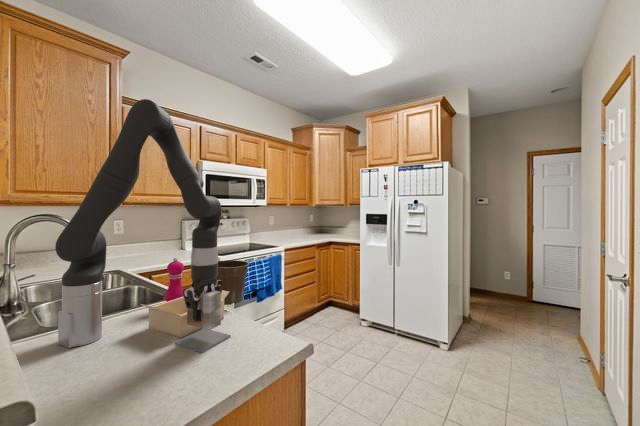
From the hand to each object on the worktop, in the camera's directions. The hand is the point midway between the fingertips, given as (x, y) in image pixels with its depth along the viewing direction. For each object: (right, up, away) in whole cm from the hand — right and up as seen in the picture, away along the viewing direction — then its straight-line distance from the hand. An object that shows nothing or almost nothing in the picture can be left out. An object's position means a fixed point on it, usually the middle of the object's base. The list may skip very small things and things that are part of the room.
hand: (204, 318), depth 87 cm
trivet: (0, -7, 0) cm, 7 cm away
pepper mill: (-22, -6, +27) cm, 35 cm away
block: (0, -2, 0) cm, 2 cm away
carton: (-10, -6, +12) cm, 17 cm away
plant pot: (-4, -6, +37) cm, 38 cm away
